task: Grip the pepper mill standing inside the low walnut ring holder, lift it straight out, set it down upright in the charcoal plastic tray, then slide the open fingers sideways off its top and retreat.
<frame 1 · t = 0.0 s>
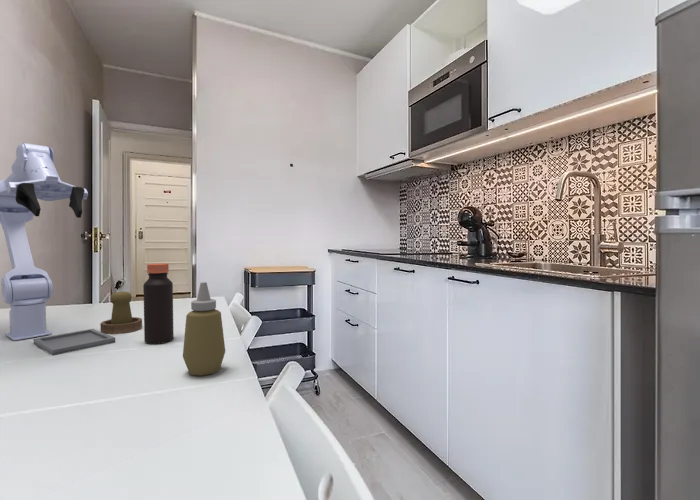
hand: (59, 213, 84), 32 cm above the table, tool tilted 50°, fingers open, 7 cm apart
squeeze bottle: (204, 372, 76), on the table
pepper mill: (122, 330, 108), resting in ring holder
vinegar: (159, 341, 97), on the table
ring holder: (122, 329, 108), on the table
tray: (74, 342, 95), on the table
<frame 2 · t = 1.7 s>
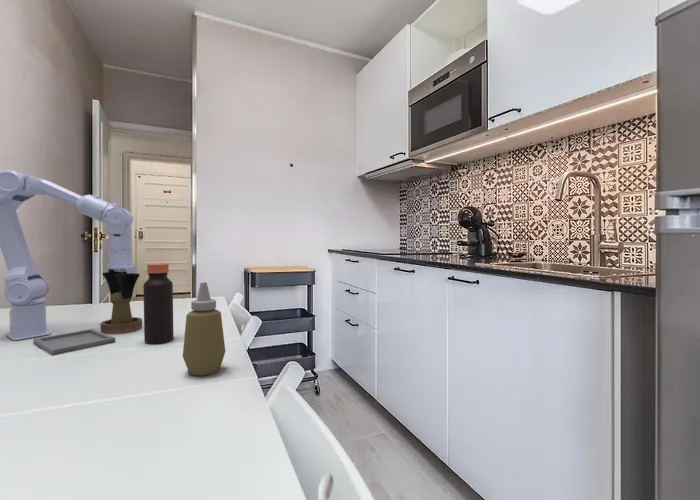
hand: (121, 296, 108), 10 cm above the table, tool pointing down, fingers open, 7 cm apart
nothing on the table moved.
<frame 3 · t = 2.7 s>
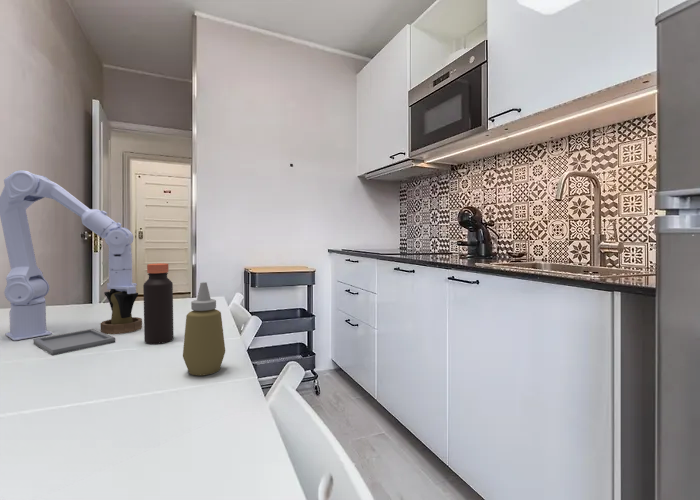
hand: (121, 316, 108), 4 cm above the table, tool pointing down, fingers closed on pepper mill, 5 cm apart
pepper mill: (122, 330, 108), resting in ring holder, touching gripper
everything else where it was.
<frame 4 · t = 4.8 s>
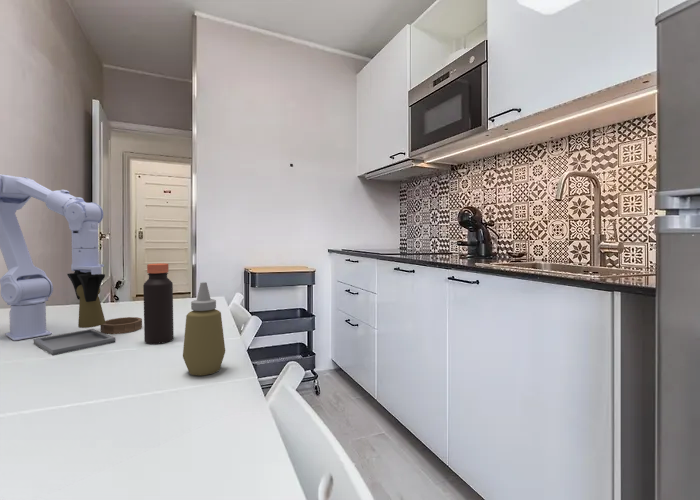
hand: (86, 300, 98), 10 cm above the table, tool pointing down, fingers closed on pepper mill, 5 cm apart
pepper mill: (92, 325, 99), point 4 cm above the table, touching gripper
everything else where it was.
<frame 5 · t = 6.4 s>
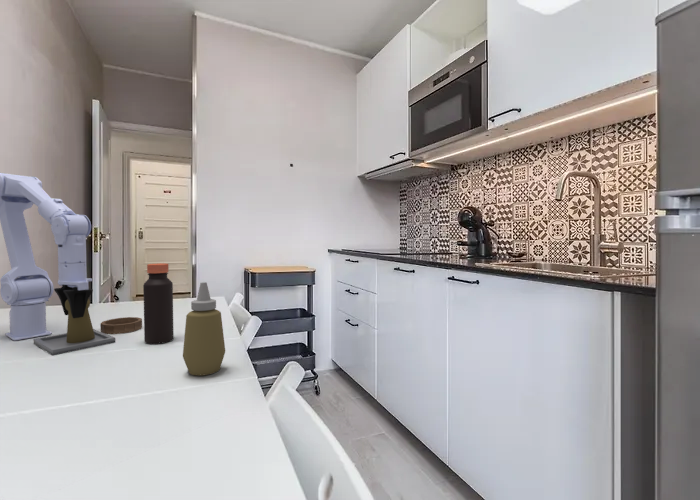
hand: (74, 316, 94), 7 cm above the table, tool pointing down, fingers closed on pepper mill, 5 cm apart
pepper mill: (81, 339, 96), resting on tray, touching gripper
everything else where it was.
when the fingers open (7 cm above the table, at t = 7.3 s): pepper mill stays where it is, resting on tray.
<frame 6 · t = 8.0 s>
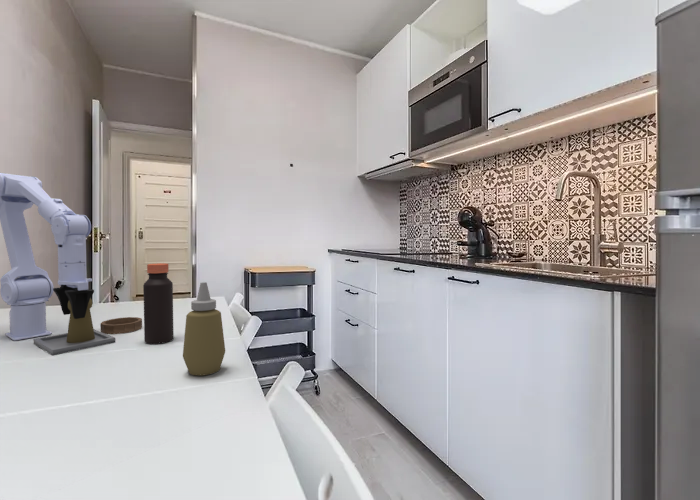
hand: (74, 316, 94), 7 cm above the table, tool pointing down, fingers open, 7 cm apart
pepper mill: (80, 340, 96), resting on tray
everything else where it was.
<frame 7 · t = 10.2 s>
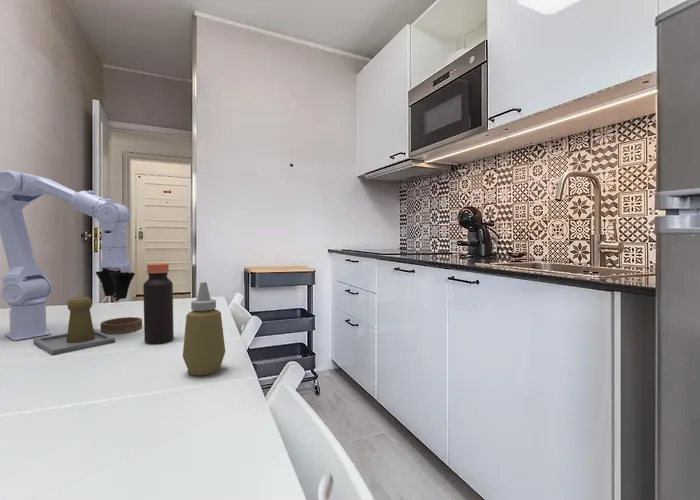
hand: (115, 297, 102), 10 cm above the table, tool pointing down, fingers open, 7 cm apart
nothing on the table moved.
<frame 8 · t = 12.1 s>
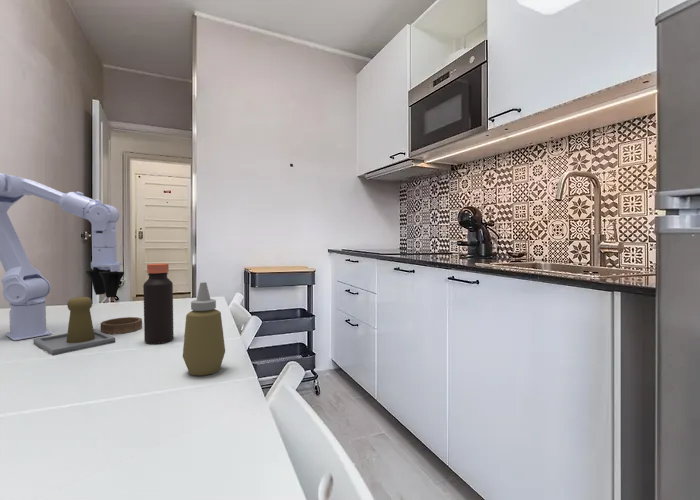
hand: (105, 295, 104), 10 cm above the table, tool pointing down, fingers open, 7 cm apart
nothing on the table moved.
at the end: pepper mill inside the target area on the tray (1.4 cm from its centre), point 0.3 cm above the tray's base; pepper mill tilted 0°; the gripper is holding nothing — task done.
